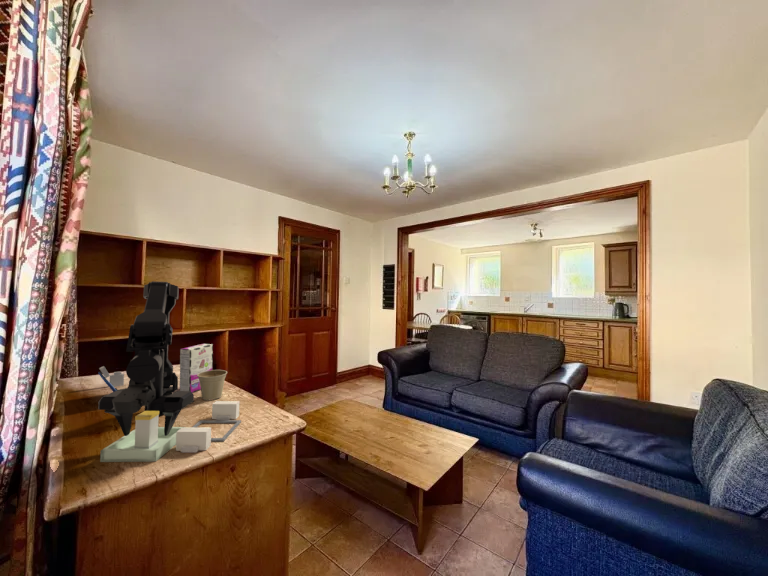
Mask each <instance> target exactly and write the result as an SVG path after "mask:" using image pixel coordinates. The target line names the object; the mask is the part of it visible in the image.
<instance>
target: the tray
mask: <svg viewBox="0 0 768 576" xmlns="http://www.w3.org/2000/svg"><path fill="white" fill-rule="evenodd" d="M182 427H183V426H172V429H171V431H170V433H169V434H168V435H167V436H165V434H164V426H158V443H156V444H155V445H154V446H152V447H151V448H150V449H134V447H135V429H133V430H132V431H131V430H130V433H129V435H127V436H122V437H120V438H118V439H117V440H115V441H114V442H112V443H111V444H109V445H108V446H106V447H104V448H102V449H101V450H100V457H99V458H100V459H99V462H100V463H120V462H121V463H122V462H123V463H128V462H129V463H131V462H132V463H134V462H135V463H136V462H137V463H138V462H139V463H141V462H145V463H146V462H147V463H148V462H155V463H156V462H157V461H158V460H160V458H162V457H163V456H164V455H165V454H166V453H168V452H170V450H171V449H172V448H174V447H176V432H177V431H178V430H179V429H181V428H182Z"/></svg>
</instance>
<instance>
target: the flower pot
mask: <svg viewBox="0 0 768 576" xmlns="http://www.w3.org/2000/svg"><path fill="white" fill-rule="evenodd" d="M227 374H228V371H227V370H224V369H212V370H210V371H204V372H201V373H199V374H197V376H198V378H199V381H200V386H201V390H200V393H201V399H202V400H203V401H213V400H218V399H220V398H221V397H222V396H223V390H224V386H225V379H226V377H227Z"/></svg>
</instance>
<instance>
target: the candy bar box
mask: <svg viewBox="0 0 768 576" xmlns="http://www.w3.org/2000/svg"><path fill="white" fill-rule="evenodd" d="M213 345H214V344H213V343H211V344H210V343H201V344H197V345H192V346H191V345H190V346H188V347H184V348H180V349H179V354H180V355H179V391H191V392H192V393H193V394H194V393H196V392H199V391H201V386H200V381H199V378H198V376H197V374H199V373H201V372H204V371H210V370H213V357H214V356H213V355H214V353H213V352H214V351H213V349H214V346H213Z"/></svg>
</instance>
